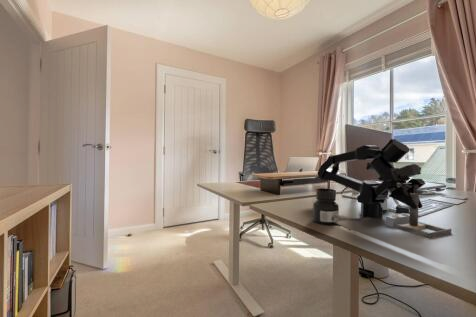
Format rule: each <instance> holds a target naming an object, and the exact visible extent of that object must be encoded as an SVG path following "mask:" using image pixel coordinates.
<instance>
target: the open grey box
mask: <svg viewBox="0 0 476 317" xmlns="http://www.w3.org/2000/svg"><path fill="white" fill-rule="evenodd" d="M418 223H420V224H424V225H426V228H425V229H429V230H432V231H431V232H428V231H423V230H422V229H418V230H417V229H414V228H410V227H407V226H403V225H400V224H397V223H395V224H394V227H393V228H396V229H399V230H402V231H406V232H409V233H411V234H415V235H418V236H422V237H425V238H428V239H432V238H433V239H434V238H438V237H441V236H442V237H443V236H446V235H450V234H452V228H446V227H445V228H444V227H440V226H437V225H432V224H429V223H425V222H421V221H418Z"/></svg>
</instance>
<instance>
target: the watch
mask: <svg viewBox="0 0 476 317" xmlns="http://www.w3.org/2000/svg"><path fill="white" fill-rule="evenodd" d="M392 200H393V202H394V203H395V204H396V207H395V214H398V213H400V214H402V213H404V214H406V213H407V214H410V206H408V205H406V204H400V203H399V202H400V201H398V200H396V199H394V198H392Z"/></svg>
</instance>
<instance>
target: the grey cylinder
mask: <svg viewBox="0 0 476 317" xmlns="http://www.w3.org/2000/svg"><path fill="white" fill-rule="evenodd" d="M410 197H411V198H412V199H413V201H414V202H415V204H416V205H417V207H418V203H419V199H420V198H419V197H420V194H419V193H418V192H417V193H410ZM409 214H410V221H409V224H404V225H403V226H407V227H410V228H414V229H417V230H422V229H427V228H426V225H424V224H420V223H418V222H419V208H416V209H413V208H411V207H410V212H409Z"/></svg>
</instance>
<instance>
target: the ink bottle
mask: <svg viewBox="0 0 476 317" xmlns="http://www.w3.org/2000/svg"><path fill="white" fill-rule="evenodd" d="M315 193H316V194H315V197H316V200H315V201H314V202H313V203H312V204H313V205H312V221H313V222H314V223H317V224H320V225H324V226H325V225H326V226H330V225H332V226H333V225H337V224H338V223H337V222H339V218H340V217H339V212H340V210H339V208H340V207H339V204H338V203H337V202H336V200H337V198H336V196H337V191H336V190H335V189H332V188H324V187H323V188H317V189H316V191H315Z"/></svg>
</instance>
